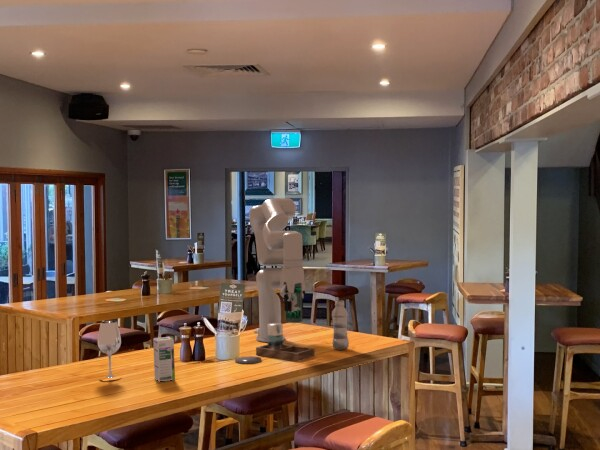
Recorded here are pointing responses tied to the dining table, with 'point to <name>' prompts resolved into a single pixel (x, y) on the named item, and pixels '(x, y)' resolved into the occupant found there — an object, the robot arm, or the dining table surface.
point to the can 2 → (295, 305)
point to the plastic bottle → (340, 326)
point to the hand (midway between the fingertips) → (293, 309)
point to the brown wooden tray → (287, 352)
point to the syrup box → (164, 359)
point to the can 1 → (275, 336)
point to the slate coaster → (248, 360)
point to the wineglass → (109, 340)
